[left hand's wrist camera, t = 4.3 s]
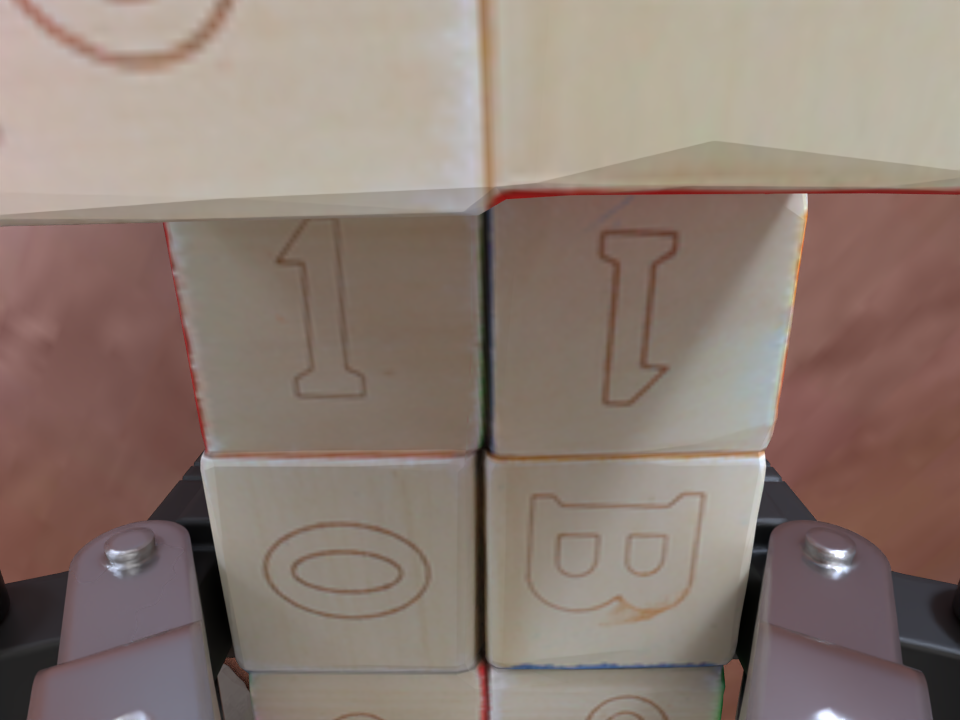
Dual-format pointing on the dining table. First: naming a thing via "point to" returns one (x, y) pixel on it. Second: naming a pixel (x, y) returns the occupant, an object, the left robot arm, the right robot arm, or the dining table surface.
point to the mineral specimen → (234, 696)
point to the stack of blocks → (479, 308)
